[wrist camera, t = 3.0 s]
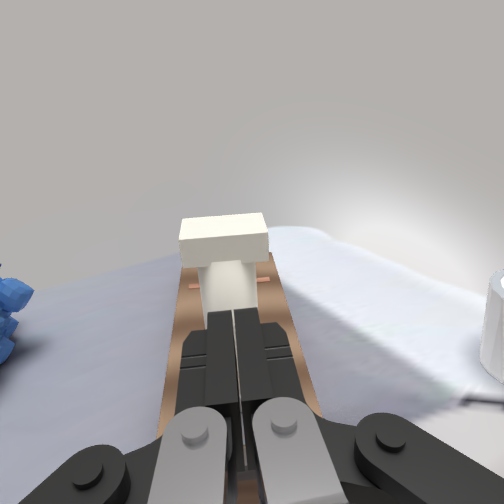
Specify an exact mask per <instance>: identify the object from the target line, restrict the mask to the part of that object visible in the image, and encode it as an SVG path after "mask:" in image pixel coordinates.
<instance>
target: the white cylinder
mask: <svg viewBox="0 0 504 504" xmlns="http://www.w3.org/2000/svg"><path fill="white" fill-rule="evenodd" d="M479 356H480V363H481V364H482V366H483V367H484V368H485V370H486V371H487V372H488V373H489V374H490V375H491V376H493V377H494V378H495V379H497V380H498V381H499V382H501V383H502V384H504V269H503V270H500V271H497V272H495V273H494V274H493V276H492V277H491V278H490V281H489V288H488V295H487V302H486V309H485V316H484V323H483V330H482V337H481V344H480V351H479Z"/></svg>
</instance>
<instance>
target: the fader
mask: <svg viewBox="0 0 504 504" xmlns="http://www.w3.org/2000/svg"><path fill="white" fill-rule="evenodd" d="M179 246H180V253H181V260H182V267H183V268H195V267H197V269H198V277H199V285H200V292H201V300H202V308H203V315H204V323H205V329H207V313H208V312H214V311H224V310H232V319H233V329H234V339H235V349H236V359H237V371H238V358H237V346H236V334H235V321H234V309H243V308H253V307H257V308H258V302H257V283H256V264H255V262H263V261H269V244H268V230H267V227H266V224H265V222H264V218H263V215H262V213H249V214H237V215H225V216H213V217H199V218H187V219H182V224H181V229H180V235H179ZM238 384H239V397H240V410H241V412H242V406H241V395H240V383H239V371H238Z"/></svg>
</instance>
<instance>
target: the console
mask: <svg viewBox="0 0 504 504" xmlns="http://www.w3.org/2000/svg"><path fill="white" fill-rule="evenodd" d="M255 264H256V283H257V302H258V314H259V319H260V324H261V323H271V322H277V323H278V324H279V325H280V326H281V327H282V328H283V329H284V330H285V331H286V333H287V337H288V340H289V344H290V347H291V351H292V355H293V358H294V362H295V366H296V369H297V373H298V377H299V380H300V384H301V388H302V391H303V395H304V398H305V401H306V403H307V405H308V406H309V407H310V409H311V410H312V411H313V412H314V413H316V414H317V415H318V416H320V417H322V414H321V411H320V407H319V404H318V401H317V398H316V395H315V391H314V388H313V385H312V382H311V378H310V375H309V372H308V369H307V366H306V362H305V359H304V356H303V353H302V349H301V346H300V343H299V340H298V337H297V333H296V330H295V327H294V324H293V320H292V317H291V314H290V311H289V308H288V304H287V301H286V298H285V295H284V291H283V288H282V285H281V282H280V279H279V275H278V272H277V269H276V266H275V262H274V259H273V256H272V253H271V252H269V261H263V262H255ZM204 329H205V323H204V315H203V308H202V300H201V292H200V285H199V277H198V269H197V267H195V268H183V267H182V270H181V277H180V284H179V290H178V297H177V304H176V311H175V317H174V324H173V331H172V337H171V344H170V351H169V358H168V364H167V371H166V378H165V384H164V391H163V398H162V405H161V411H160V418H159V425H158V431H157V438H156V440H157V439H158V438H159V437H160V436H162V435H163V432H164V429H165V427H166V425H167V424H168V423H169V421H170V420H171V419H172V418H173V417H174V413H175V406H176V397H177V388H178V379H179V371H180V362H181V353H182V345H183V342H184V340H185V339H186V338H187V336H188V335H189V333H190V332H191V331H195V330H204ZM322 418H323V417H322ZM241 423H242V436H243V449H244V462H245V471H243V472H237V486H238V497H237V502H236V503H237V504H259V495H258V485H257V476H256V470H249V471H248V466H247V456H246V446H245V436H244V426H243V416H242V412H241Z"/></svg>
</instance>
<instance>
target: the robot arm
mask: <svg viewBox="0 0 504 504" xmlns="http://www.w3.org/2000/svg"><path fill="white" fill-rule="evenodd" d="M234 321H235V334H236V346H237V358H238V371H239V383H240V395H241V406H242V416H243V426H244V436H245V446H246V456H247V466H248V471H249V470H256V476H257V485H258V495H259V504H504V478H502V477H500V476H498V475H497V474H495V473H494V472H492V471H490V470H489V469H487V468H485V467H484V466H482V465H480V464H479V463H477V462H475V461H474V460H472V459H470V458H469V457H467V456H466V455H464V454H462V453H460V452H459V451H457V450H455V449H454V448H452V447H451V446H449V445H447V444H446V443H444V442H442V441H441V440H439V439H437V438H436V437H434V436H432V435H431V434H429V433H427V432H426V431H424V430H422V429H421V428H419V427H418V426H416V425H414V424H413V423H411V422H409V421H408V420H406V419H404V418H402V417H400V416H397V415H394V414H390V413H374V414H371V415H368V416H366V417H364V418H363V419H362V420H361V421H360V422H359V423H358V425H357V426H351V425H345V424H340V423H335V422H331V421H328V420H326V419H324V418H322V417H320V416H318V415H317V414H316V413H314V412H313V411H312V410H311V409H310V407H309V406H308V405H307V403H306V401H305V398H304V395H303V391H302V388H301V384H300V380H299V377H298V373H297V369H296V366H295V362H294V358H293V355H292V351H291V347H290V344H289V340H288V337H287V333H286V331H285V330H284V329H283V328H282V327H281V326H280V325H279V324H278V323H277V322H271V323H261V324H260V319H259V314H258V308H257V307H253V308H243V309H234ZM238 371H237V359H236V349H235V339H234V329H233V319H232V310H224V311H214V312H208V313H207V329H204V330H195V331H191V332H190V333H189V335H188V336H187V338H186V339H185V340H184V342H183V345H182V353H181V362H180V371H179V379H178V388H177V397H176V406H175V413H174V417H173V418H172V419H171V420H170V421H169V423H168V424H167V425H166V427H165V429H164V432H163V435H162V436H160V437H159V438H158V439H157V440H155V441H154V442H152V443H151V444H148V445H146V446H144V447H142V448H140V449H137V450H135V451H132V452H130V453H127V454H125V455H123V454H122V453H121V451H119V450H118V449H117V448H115V447H113V446H110V445H95V446H91V447H88V448H85V449H83V450H81V451H79V452H78V453H76V454H74V455H73V456H72V457H70V458H69V459H68V460H67V461H66V462H65V463H63V464H62V465H61V466H60V467H59V468H58V469H57V470H56V471H54V472H53V473H52V474H51V475H50V476H49V477H48V478H46V479H45V480H44V481H43V482H42V483H41V484H40V485H39V486H37V487H36V488H35V489H34V490H33V491H32V492H31V493H30V494H28V495H27V496H26V497H25V498H24V499H23V500H22V501H21V502H19V503H18V504H237V503H236V502H237V497H238V486H237V472H243V471H245V462H244V449H243V436H242V423H241V410H240V397H239V384H238Z"/></svg>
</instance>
